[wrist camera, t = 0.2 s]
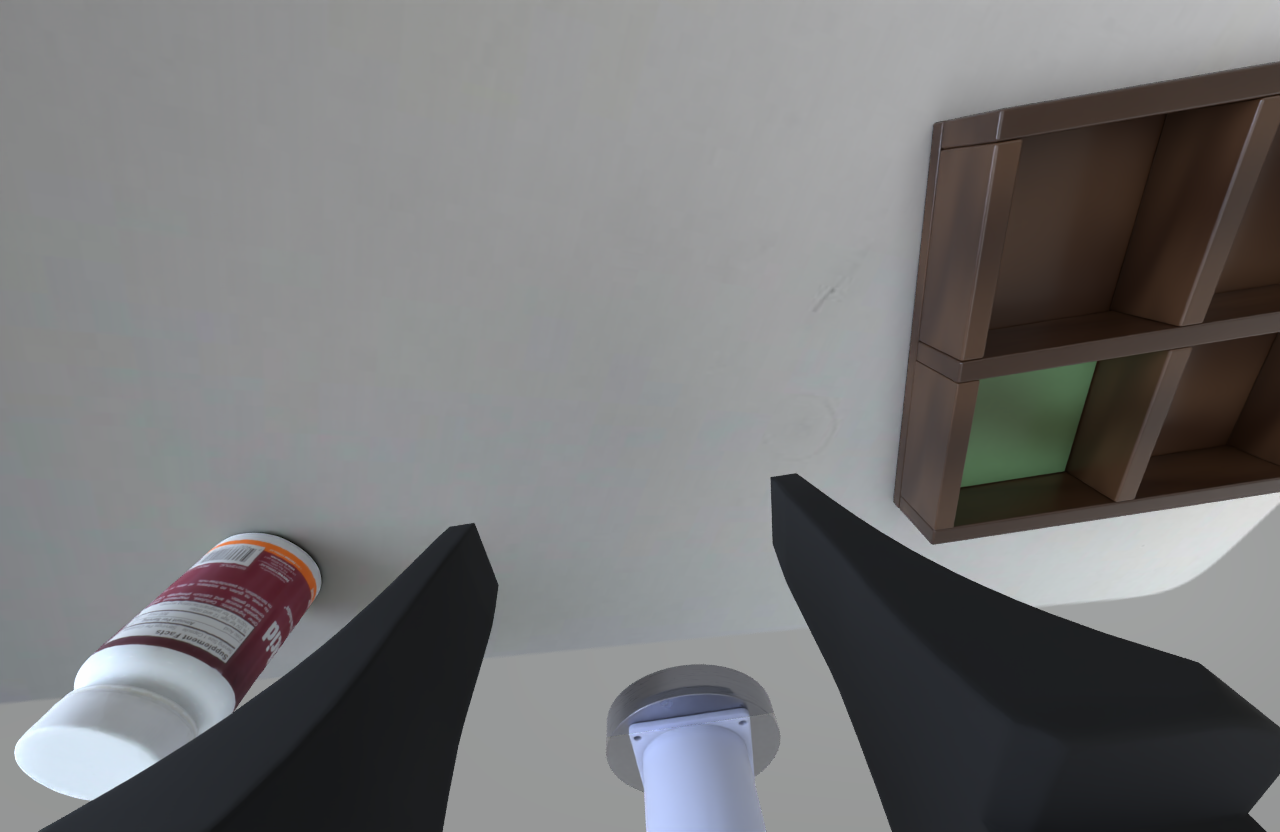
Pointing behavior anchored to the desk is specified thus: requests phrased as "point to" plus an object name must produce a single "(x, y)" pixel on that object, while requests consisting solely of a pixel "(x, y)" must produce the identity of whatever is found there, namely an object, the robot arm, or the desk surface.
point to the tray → (1097, 309)
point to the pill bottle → (173, 667)
